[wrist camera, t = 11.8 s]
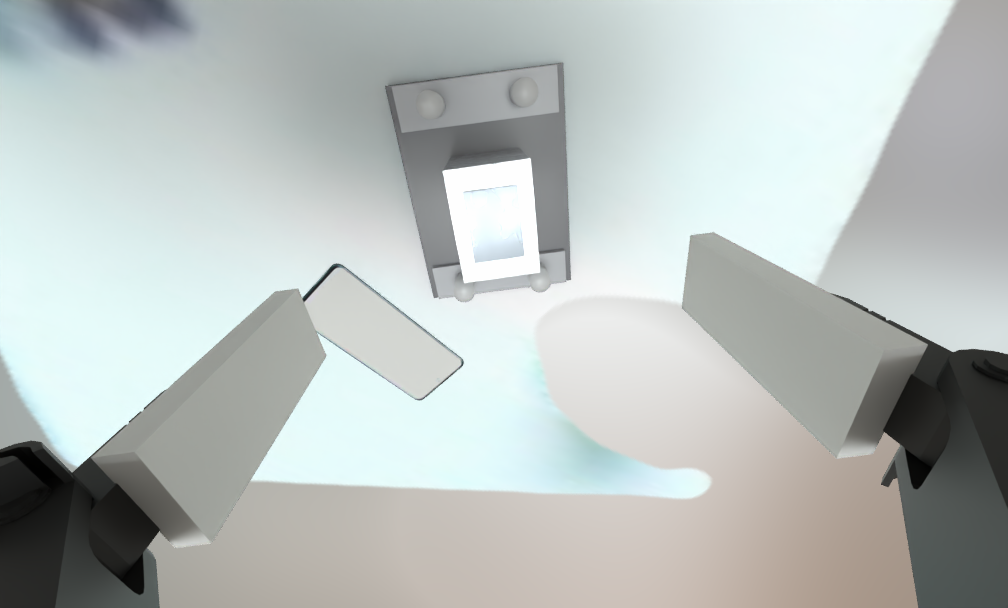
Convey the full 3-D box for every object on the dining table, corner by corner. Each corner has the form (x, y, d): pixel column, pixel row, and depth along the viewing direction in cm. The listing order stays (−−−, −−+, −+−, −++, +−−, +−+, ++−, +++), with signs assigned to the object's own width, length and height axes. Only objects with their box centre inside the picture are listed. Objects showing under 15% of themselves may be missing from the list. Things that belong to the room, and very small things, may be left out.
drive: (450, 157, 27) (442, 171, 21) (518, 147, 27) (530, 158, 21) (467, 248, 30) (464, 283, 24) (527, 239, 30) (540, 273, 24)
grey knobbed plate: (387, 86, 26) (374, 83, 22) (560, 64, 26) (573, 56, 22) (434, 293, 33) (429, 314, 30) (568, 276, 33) (579, 294, 30)
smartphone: (335, 261, 31) (466, 363, 37) (338, 259, 31) (466, 359, 37) (288, 313, 33) (419, 402, 38) (291, 310, 33) (420, 399, 39)
